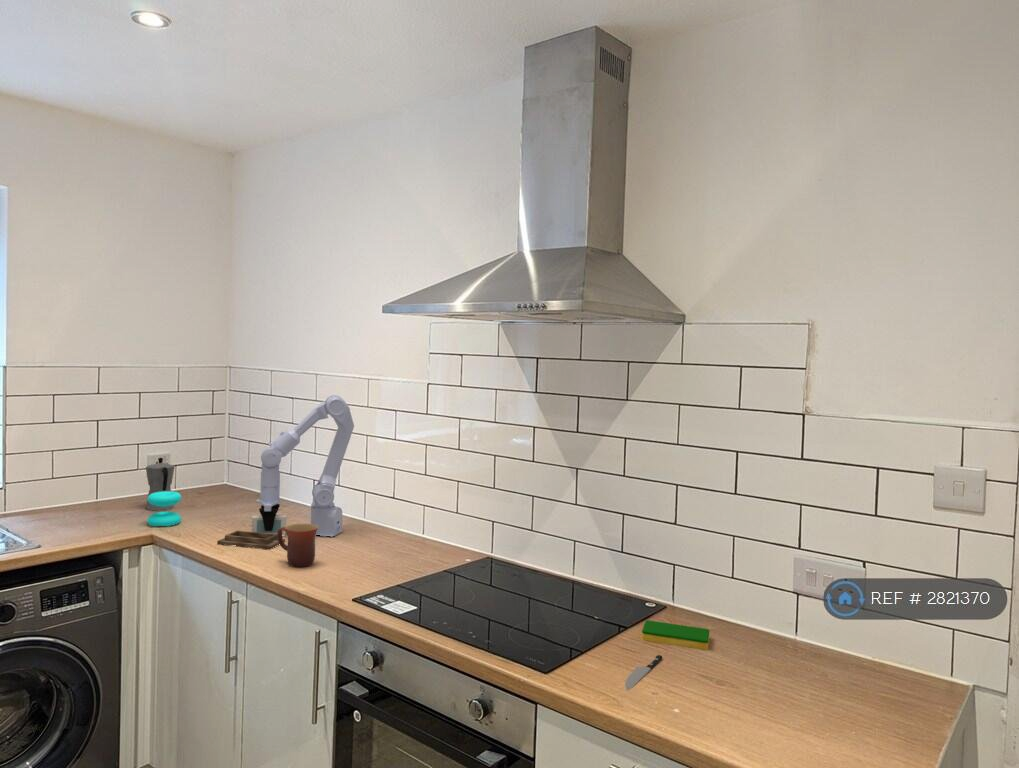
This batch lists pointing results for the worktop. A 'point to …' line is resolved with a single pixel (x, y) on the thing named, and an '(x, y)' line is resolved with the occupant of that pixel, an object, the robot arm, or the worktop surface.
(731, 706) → the worktop surface
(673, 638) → the dish sponge
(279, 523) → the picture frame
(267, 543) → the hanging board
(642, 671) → the chef's knife
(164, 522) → the donuts
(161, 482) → the coffeepot
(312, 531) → the mug
